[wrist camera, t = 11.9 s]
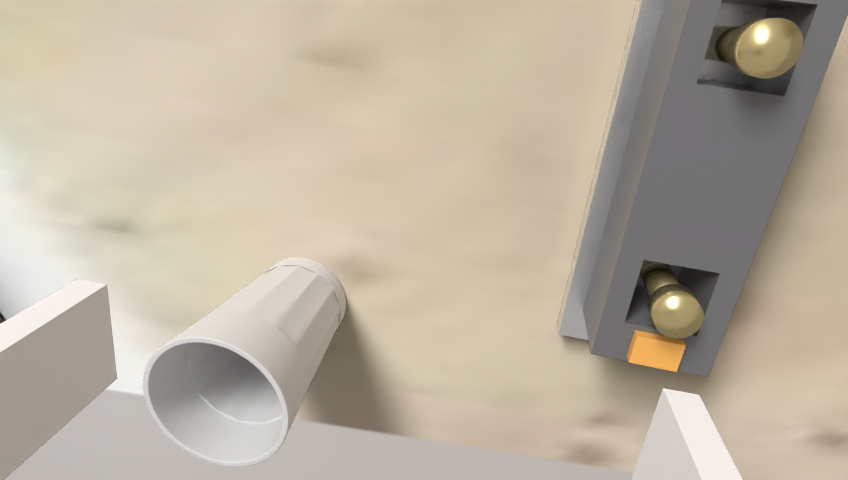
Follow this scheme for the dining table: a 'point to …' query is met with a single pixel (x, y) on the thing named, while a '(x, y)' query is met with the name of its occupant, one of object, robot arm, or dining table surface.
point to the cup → (246, 365)
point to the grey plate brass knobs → (724, 61)
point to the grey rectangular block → (700, 180)
